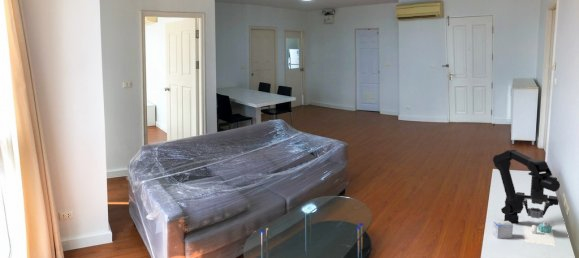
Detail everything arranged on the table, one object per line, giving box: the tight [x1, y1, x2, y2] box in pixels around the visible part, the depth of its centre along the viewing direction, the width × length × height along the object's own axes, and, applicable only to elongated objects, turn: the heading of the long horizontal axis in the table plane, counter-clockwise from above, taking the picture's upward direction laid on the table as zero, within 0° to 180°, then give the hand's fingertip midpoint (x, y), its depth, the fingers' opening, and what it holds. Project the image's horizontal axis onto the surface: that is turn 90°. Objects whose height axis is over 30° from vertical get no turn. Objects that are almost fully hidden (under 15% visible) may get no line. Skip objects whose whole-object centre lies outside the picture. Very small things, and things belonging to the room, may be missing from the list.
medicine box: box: [492, 220, 514, 239], centre depth 221 cm, size 8×4×9 cm, turn 92°
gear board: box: [523, 221, 556, 247], centre depth 220 cm, size 13×20×6 cm, turn 153°
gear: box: [527, 207, 544, 219], centre depth 221 cm, size 7×7×3 cm
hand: (535, 214), depth 221 cm, fingers closed on gear, 7 cm apart
